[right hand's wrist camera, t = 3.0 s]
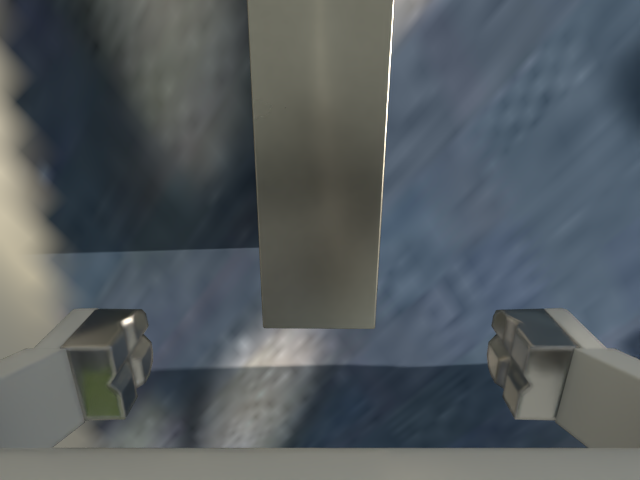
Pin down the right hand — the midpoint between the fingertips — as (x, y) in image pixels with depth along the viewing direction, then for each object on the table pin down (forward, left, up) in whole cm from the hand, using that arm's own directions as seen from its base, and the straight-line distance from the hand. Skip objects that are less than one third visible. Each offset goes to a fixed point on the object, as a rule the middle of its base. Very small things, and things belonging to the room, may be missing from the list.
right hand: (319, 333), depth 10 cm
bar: (+10, 0, -15) cm, 18 cm away
